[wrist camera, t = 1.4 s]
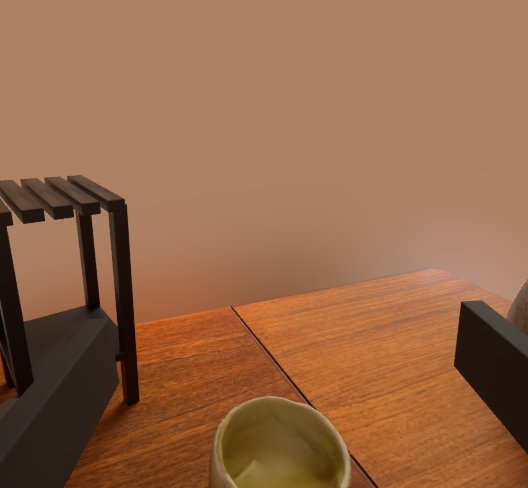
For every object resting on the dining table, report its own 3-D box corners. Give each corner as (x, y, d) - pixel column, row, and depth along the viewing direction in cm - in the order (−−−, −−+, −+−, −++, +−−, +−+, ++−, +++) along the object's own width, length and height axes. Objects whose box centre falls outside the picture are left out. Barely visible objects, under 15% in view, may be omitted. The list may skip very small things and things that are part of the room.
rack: (30, 452, 33) (-17, 214, 26) (5, 381, 41) (-36, 183, 34) (140, 401, 39) (127, 198, 32) (101, 348, 47) (83, 174, 40)
